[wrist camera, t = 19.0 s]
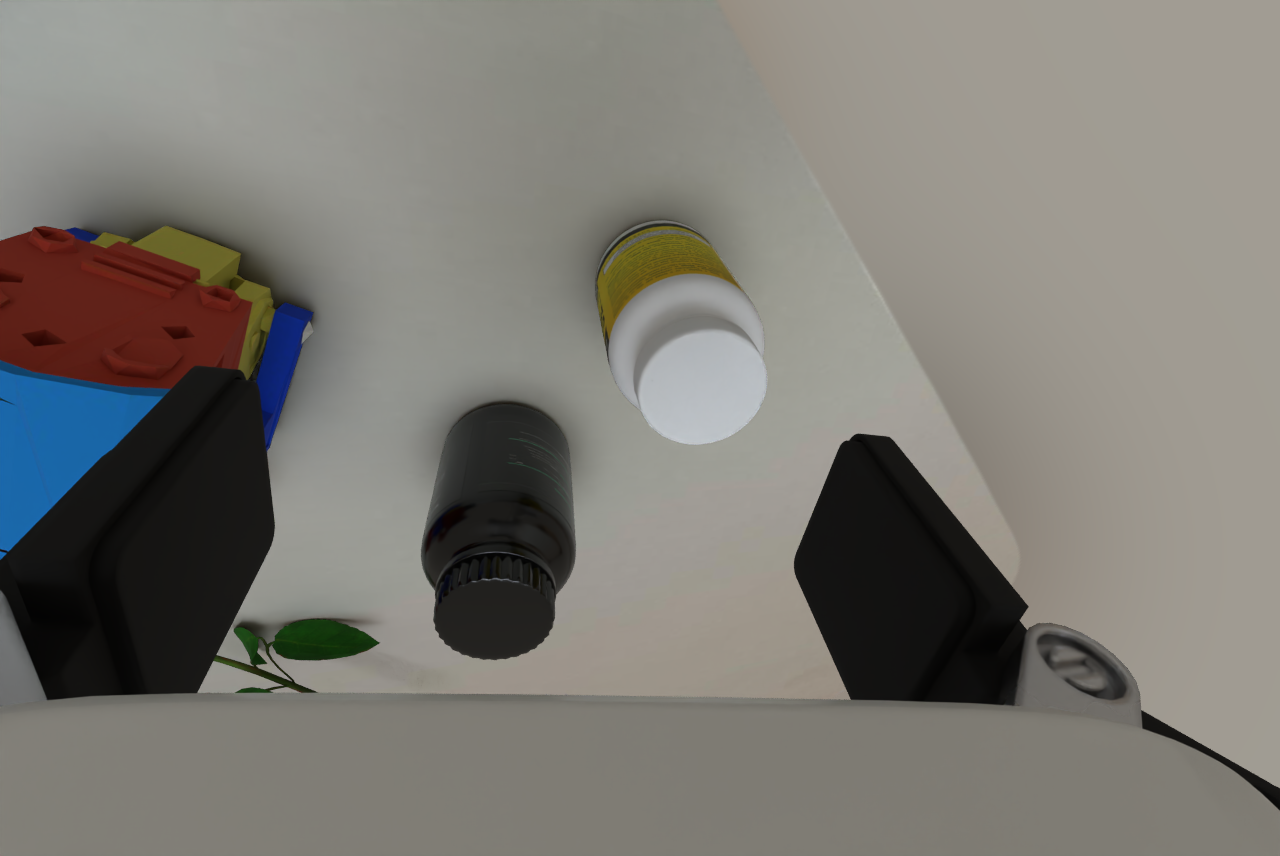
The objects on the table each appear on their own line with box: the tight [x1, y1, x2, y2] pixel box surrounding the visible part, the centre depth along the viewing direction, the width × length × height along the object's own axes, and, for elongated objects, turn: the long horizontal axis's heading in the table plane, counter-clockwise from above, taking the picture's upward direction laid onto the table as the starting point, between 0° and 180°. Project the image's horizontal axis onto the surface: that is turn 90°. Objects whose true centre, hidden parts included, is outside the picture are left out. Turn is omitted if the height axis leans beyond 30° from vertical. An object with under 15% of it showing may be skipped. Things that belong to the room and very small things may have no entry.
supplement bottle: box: [421, 404, 576, 660], centre depth 32 cm, size 7×7×12 cm
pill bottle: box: [595, 220, 767, 445], centre depth 28 cm, size 6×6×11 cm
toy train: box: [0, 226, 314, 560], centre depth 26 cm, size 10×16×15 cm, turn 154°
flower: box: [213, 619, 379, 693], centre depth 36 cm, size 9×10×30 cm
